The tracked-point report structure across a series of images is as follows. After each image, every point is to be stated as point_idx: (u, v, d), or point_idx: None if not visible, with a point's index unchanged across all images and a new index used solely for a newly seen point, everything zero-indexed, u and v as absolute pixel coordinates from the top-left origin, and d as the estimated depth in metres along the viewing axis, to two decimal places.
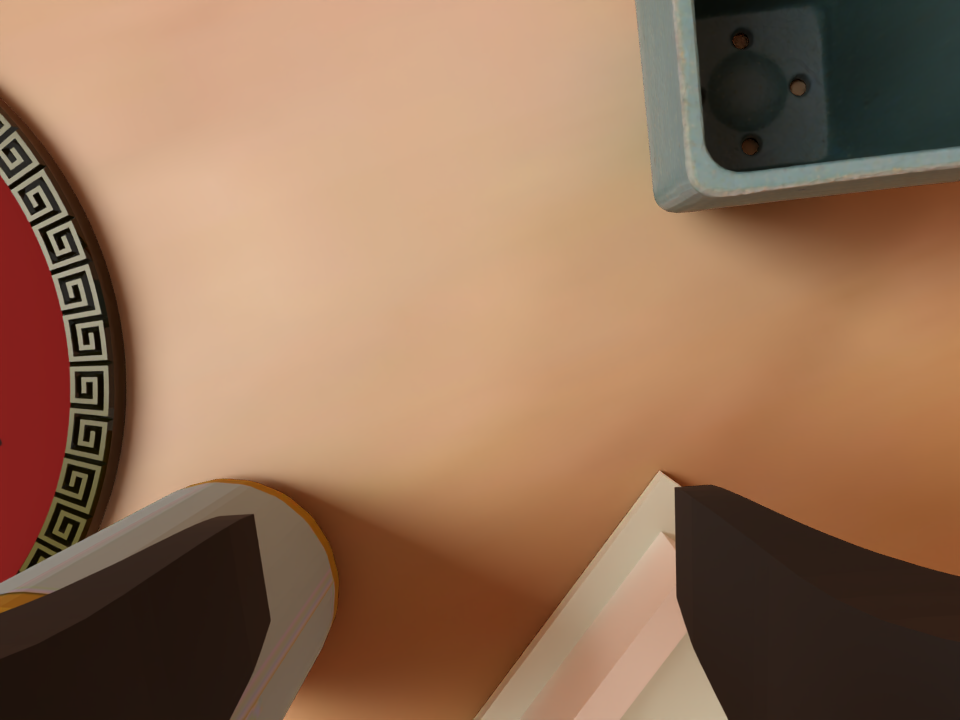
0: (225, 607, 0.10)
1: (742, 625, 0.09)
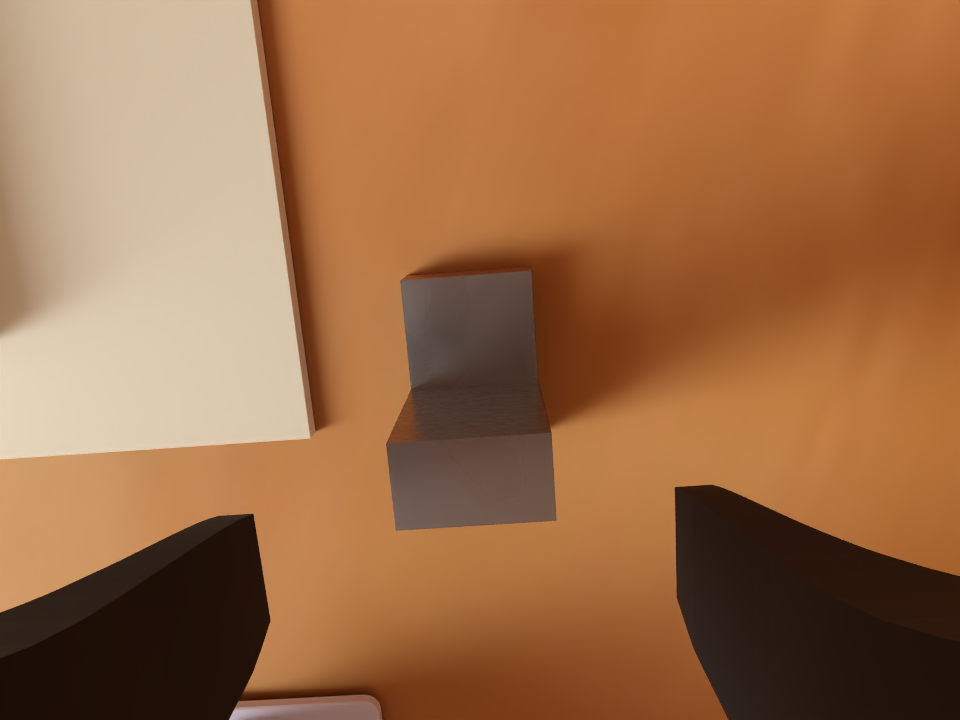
0: (225, 607, 0.10)
1: (743, 625, 0.09)
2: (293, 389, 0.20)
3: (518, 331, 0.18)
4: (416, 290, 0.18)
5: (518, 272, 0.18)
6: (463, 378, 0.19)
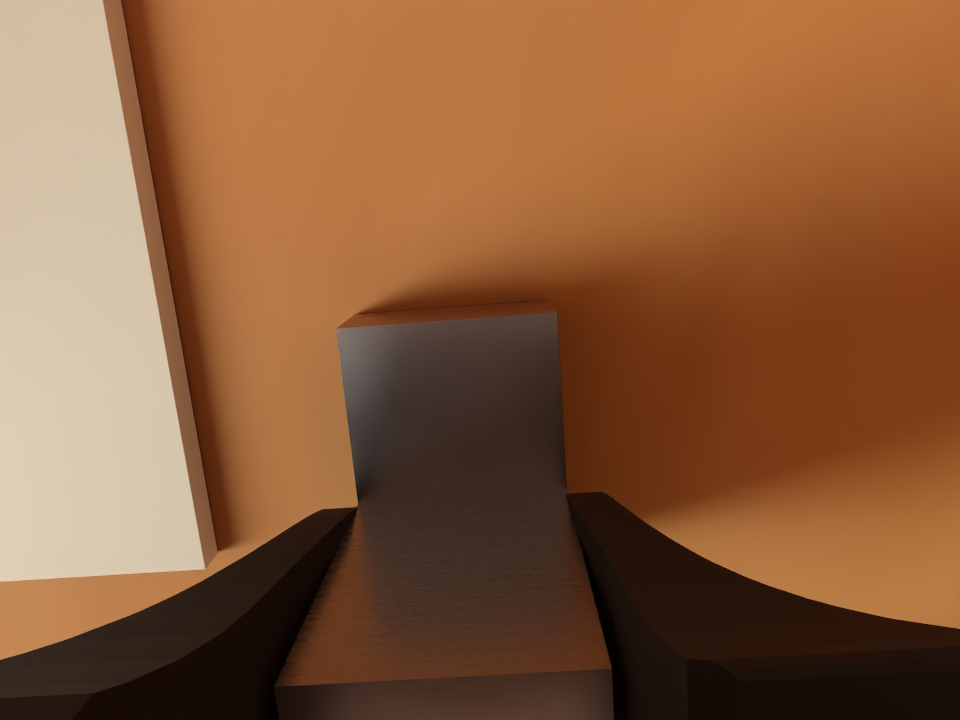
0: None
1: None
2: (176, 495, 0.12)
3: (534, 411, 0.11)
4: (362, 344, 0.11)
5: (535, 315, 0.11)
6: (443, 487, 0.11)
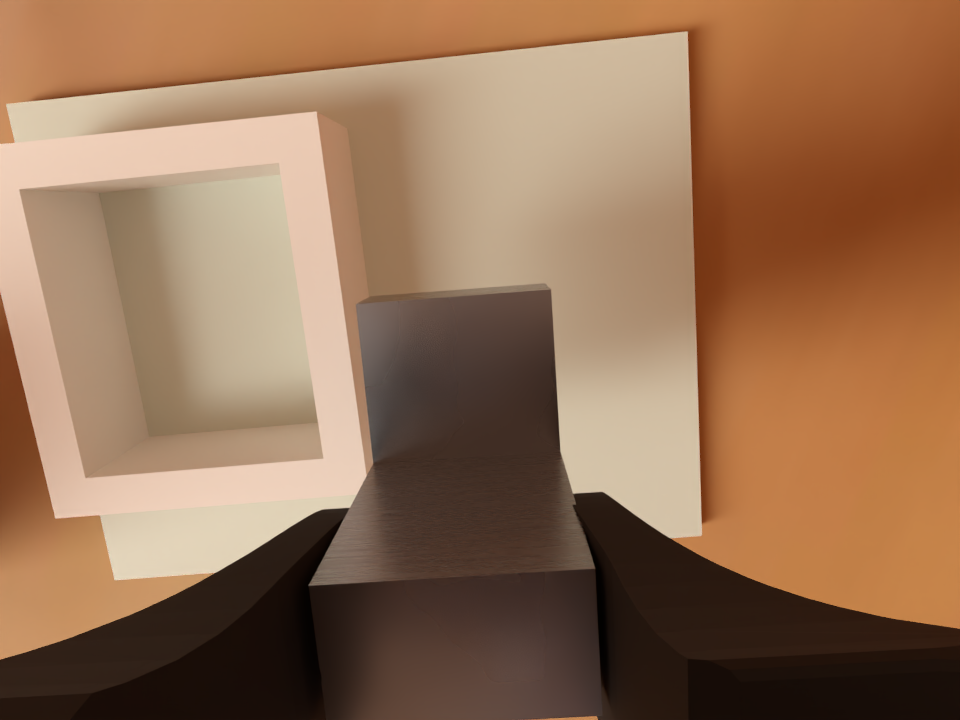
0: None
1: (602, 633, 0.09)
2: (690, 489, 0.20)
3: (532, 379, 0.12)
4: (379, 318, 0.12)
5: (531, 291, 0.12)
6: (450, 448, 0.13)
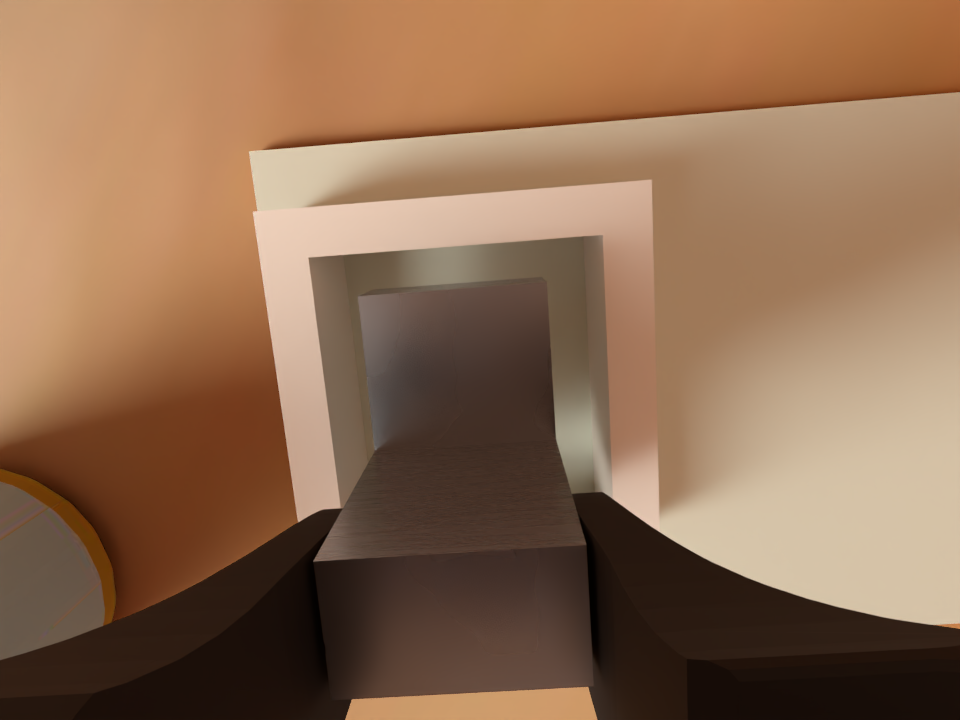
0: None
1: (602, 633, 0.09)
2: (956, 574, 0.19)
3: (528, 369, 0.13)
4: (380, 309, 0.13)
5: (528, 284, 0.13)
6: (449, 436, 0.13)
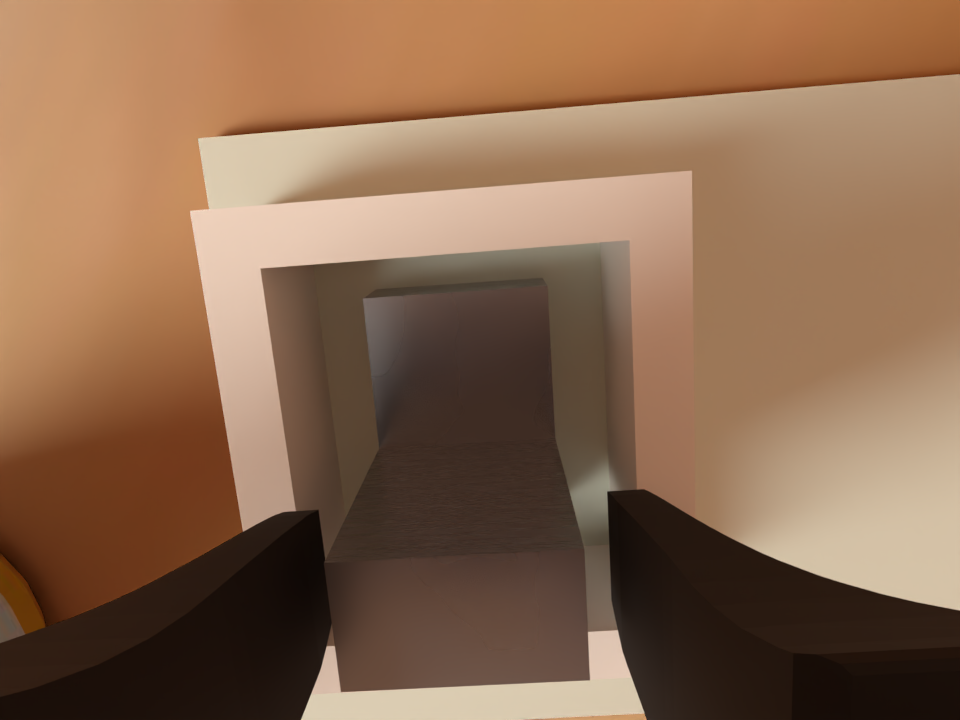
0: (298, 602, 0.10)
1: (655, 630, 0.09)
2: None
3: (528, 370, 0.13)
4: (385, 312, 0.13)
5: (529, 288, 0.13)
6: (451, 434, 0.13)
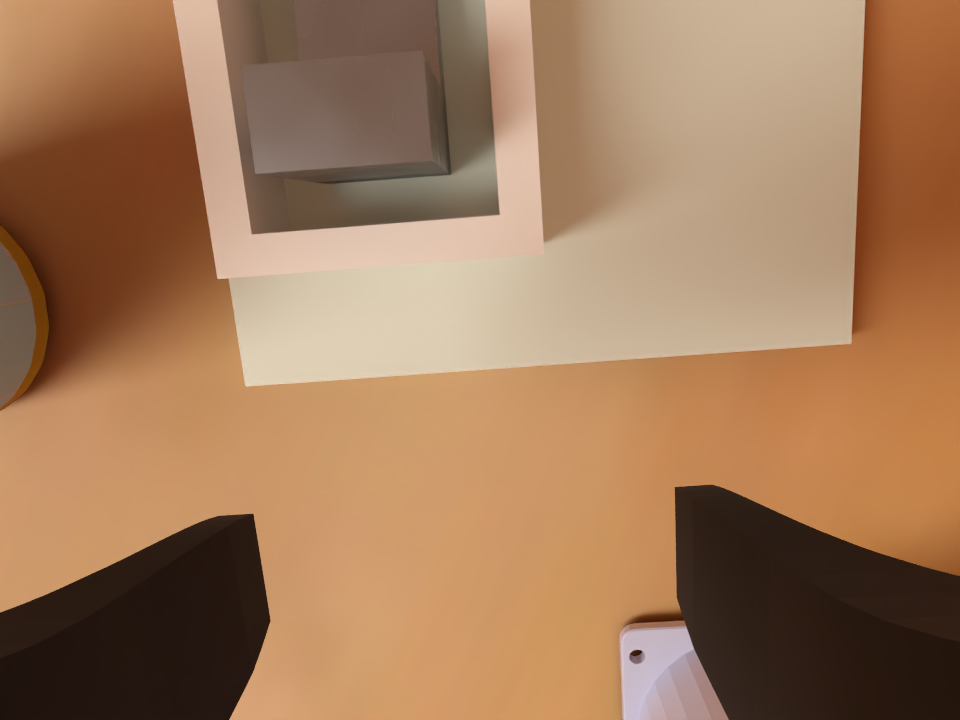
0: (224, 607, 0.10)
1: (743, 625, 0.09)
2: (843, 293, 0.20)
3: (418, 32, 0.17)
4: None
5: None
6: None
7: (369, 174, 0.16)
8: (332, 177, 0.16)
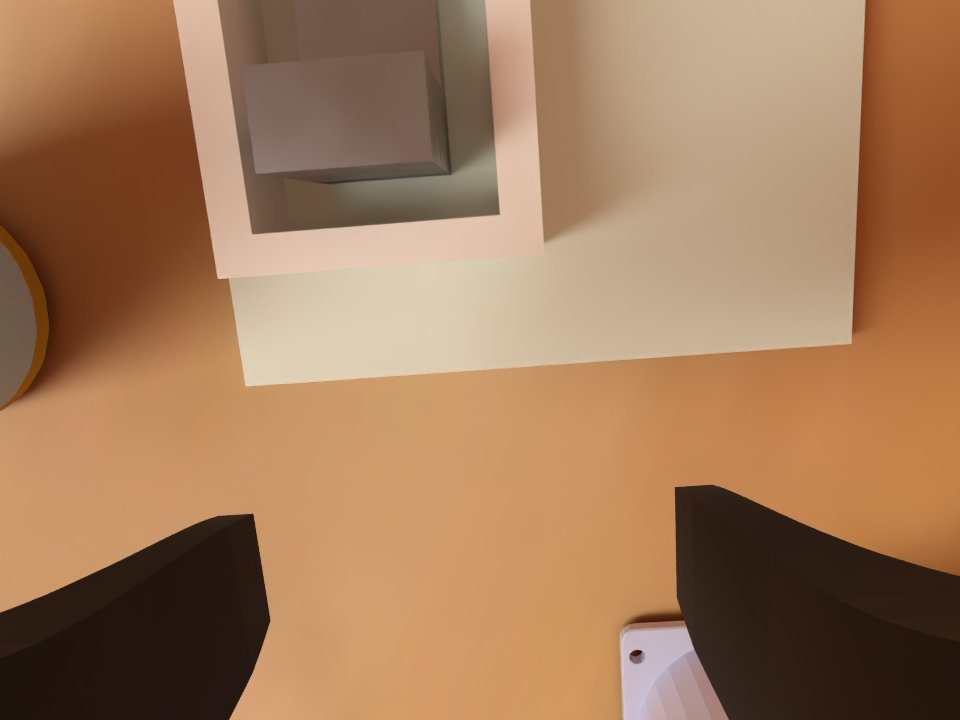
0: (225, 607, 0.10)
1: (743, 625, 0.09)
2: (843, 293, 0.20)
3: (418, 32, 0.17)
4: None
5: None
6: None
7: (369, 174, 0.16)
8: (332, 177, 0.16)
